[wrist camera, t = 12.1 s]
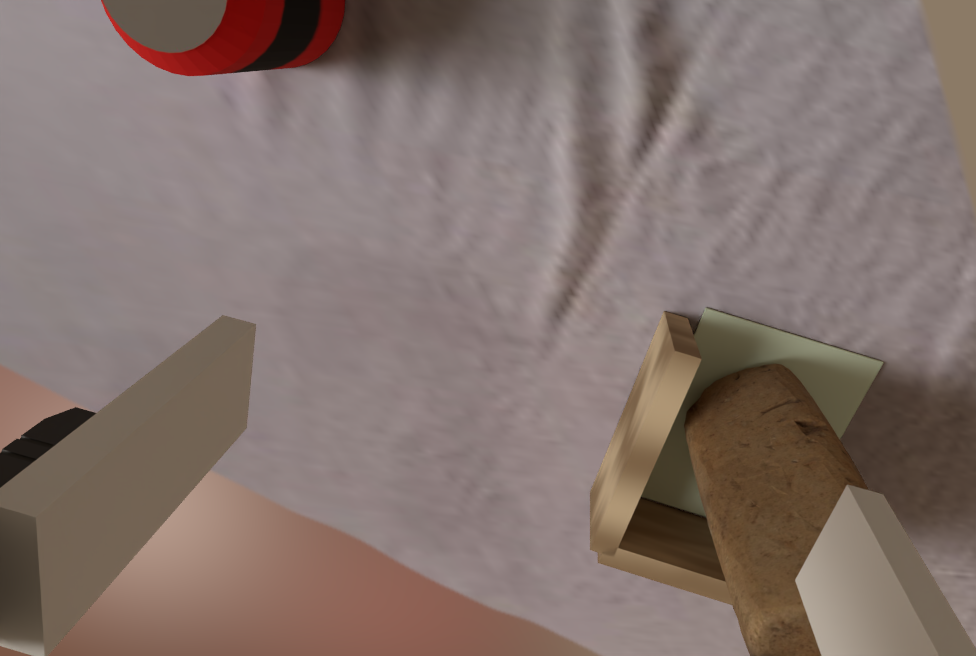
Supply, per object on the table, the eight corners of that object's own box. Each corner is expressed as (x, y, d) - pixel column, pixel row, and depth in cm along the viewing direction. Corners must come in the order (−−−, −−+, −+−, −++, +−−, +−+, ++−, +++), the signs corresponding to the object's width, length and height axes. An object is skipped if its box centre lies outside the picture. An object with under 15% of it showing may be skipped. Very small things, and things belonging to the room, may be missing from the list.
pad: (705, 307, 42) (706, 308, 42) (882, 361, 42) (883, 362, 42) (626, 490, 48) (626, 492, 48) (782, 539, 48) (783, 540, 48)
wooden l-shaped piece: (664, 311, 43) (674, 350, 37) (914, 387, 43) (962, 439, 37) (586, 500, 49) (586, 559, 43) (806, 569, 48) (833, 637, 43)
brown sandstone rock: (667, 384, 44) (721, 625, 26) (786, 340, 42) (936, 569, 24) (728, 517, 48) (814, 817, 29) (842, 482, 45) (1013, 781, 27)
